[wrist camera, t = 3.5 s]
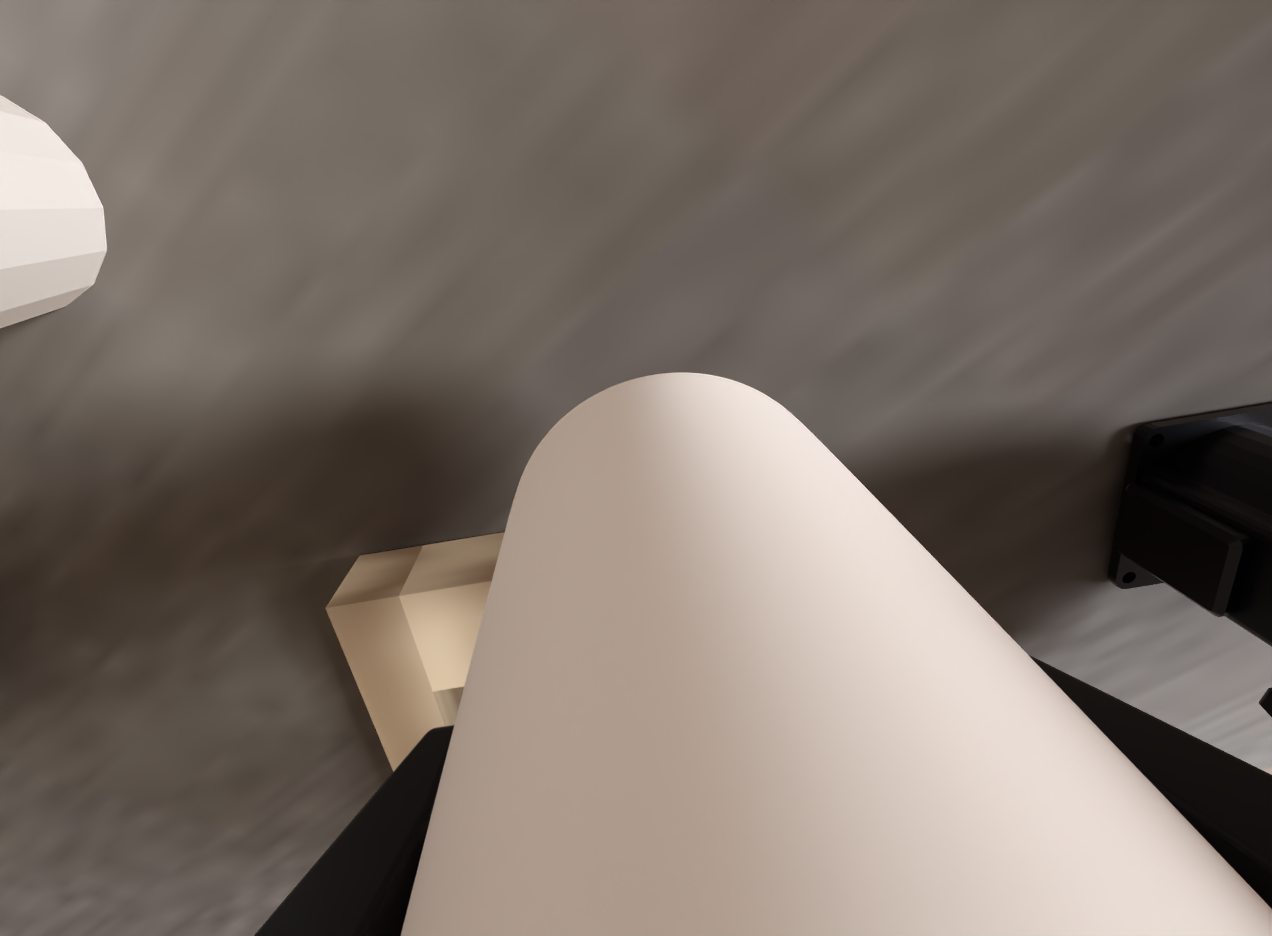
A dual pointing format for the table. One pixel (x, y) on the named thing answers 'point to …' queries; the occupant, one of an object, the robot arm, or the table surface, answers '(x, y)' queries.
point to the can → (772, 716)
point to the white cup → (44, 220)
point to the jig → (414, 632)
